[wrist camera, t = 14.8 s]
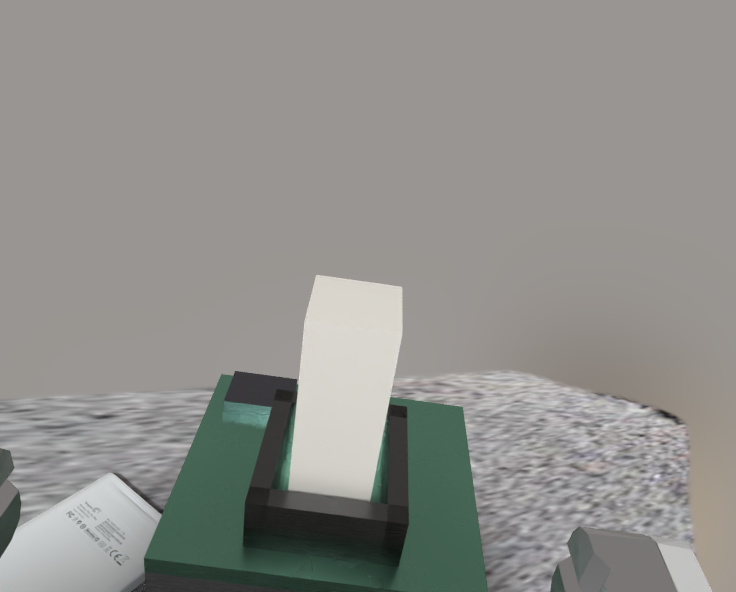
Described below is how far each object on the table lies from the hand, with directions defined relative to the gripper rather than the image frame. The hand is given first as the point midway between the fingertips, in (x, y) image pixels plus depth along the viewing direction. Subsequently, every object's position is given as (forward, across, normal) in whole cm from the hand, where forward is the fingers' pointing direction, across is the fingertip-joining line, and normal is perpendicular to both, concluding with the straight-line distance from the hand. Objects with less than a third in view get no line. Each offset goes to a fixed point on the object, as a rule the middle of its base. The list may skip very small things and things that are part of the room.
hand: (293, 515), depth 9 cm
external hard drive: (+16, -14, -28) cm, 36 cm away
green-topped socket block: (+19, +1, -27) cm, 33 cm away
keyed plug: (+17, +1, -18) cm, 25 cm away
